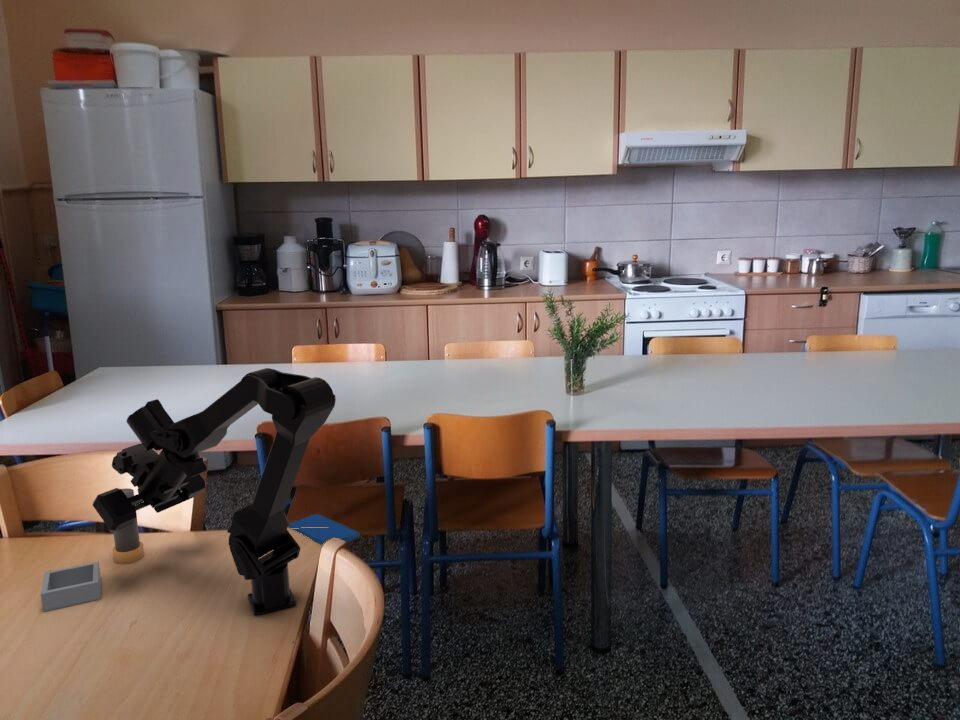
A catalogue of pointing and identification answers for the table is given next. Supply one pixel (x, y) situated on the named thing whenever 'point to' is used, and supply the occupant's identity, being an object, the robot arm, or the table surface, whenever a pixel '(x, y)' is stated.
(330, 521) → the smartphone
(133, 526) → the plug
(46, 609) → the socket
